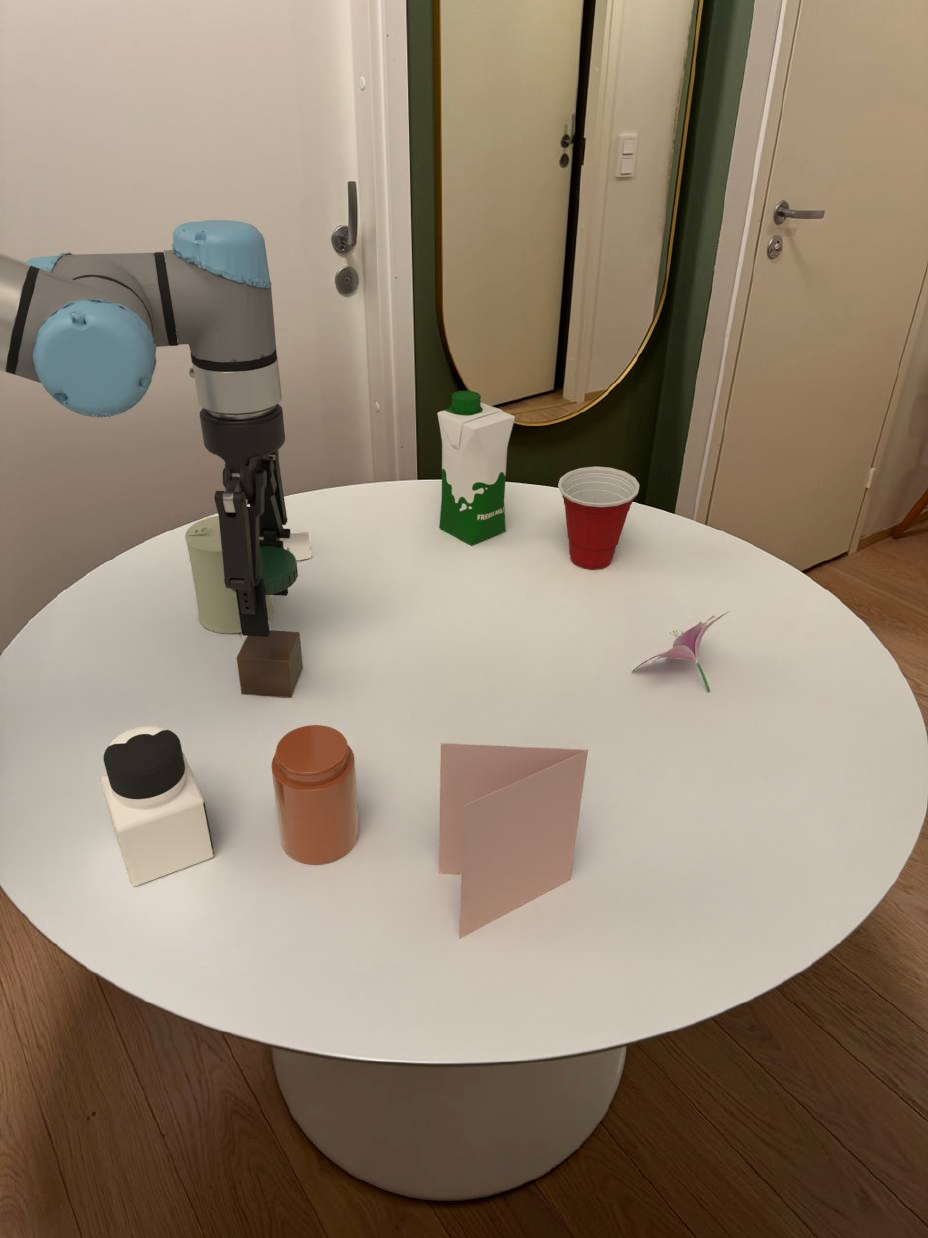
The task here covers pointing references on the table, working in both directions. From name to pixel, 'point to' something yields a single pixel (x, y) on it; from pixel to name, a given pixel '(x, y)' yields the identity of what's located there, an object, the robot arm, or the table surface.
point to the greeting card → (507, 824)
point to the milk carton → (473, 467)
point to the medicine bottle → (154, 804)
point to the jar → (315, 794)
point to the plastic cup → (596, 512)
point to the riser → (270, 664)
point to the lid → (276, 569)
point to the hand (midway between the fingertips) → (266, 612)
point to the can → (213, 579)
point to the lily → (687, 645)
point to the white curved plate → (298, 545)
